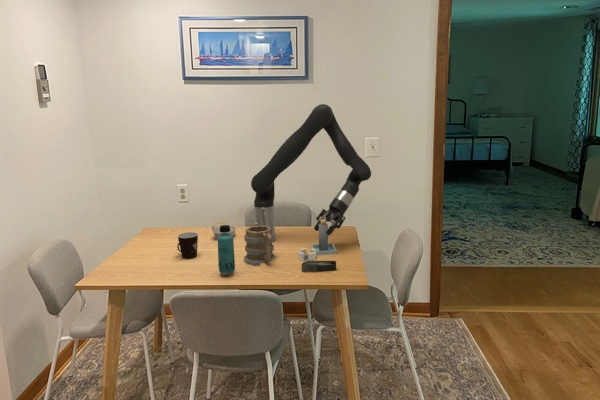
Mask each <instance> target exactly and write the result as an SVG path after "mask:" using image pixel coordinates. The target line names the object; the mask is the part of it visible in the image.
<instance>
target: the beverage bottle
mask: <svg viewBox="0 0 600 400" xmlns="http://www.w3.org/2000/svg"><path fill="white" fill-rule="evenodd" d="M229 225H230V224H229ZM229 225H222V226H220V232H223V233H222V234H220V235H219V236H218V237H217V238H216V239H217V259H218V260H217V261H218V264H217V266H218V272H219V273H220V274H223V275H227V274H228V275H229V274H232V273H234V272H235V271H236V259H235V245H234V242H235V241H234V236H233V235H231V234H230V233H225V232H230V226H229Z"/></svg>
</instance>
